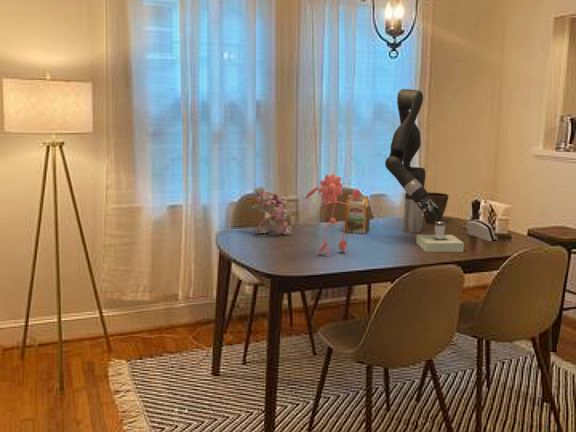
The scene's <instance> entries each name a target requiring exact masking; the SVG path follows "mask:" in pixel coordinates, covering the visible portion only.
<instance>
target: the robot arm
mask: <svg viewBox="0 0 576 432" xmlns="http://www.w3.org/2000/svg"><path fill="white" fill-rule="evenodd" d="M396 102H397V110H398V116H399V120H400V122H399V123H400V125H399V126H398V127H397V129H396V130H395V132H394V133H393V135H392V136H393V137H392V140H391V144H390V152H389V156H388V157H387V158H386V159H385V162H384V163H385V168H386V169H387V171H388V172H389V173H390V174H391V175H392V176H394V178H395V179H396V181H397V182H398V183H399V184H400V186H401V187H402V188H403V189H404V191H405V194H404V195H405V196H404V211H403V212H404V214H403V232H404V233H410V234H418V233H419V234H420V233H422V231H423V230H422V229H423V216H424V214H427V215H429V216H430V217H431V219H432V220H435V219H436V218H437V217H436V215H435V214H434V213H433V212H431V209H432V210H433V211H435V213H436V214H437V215H438V217H441V216H442V215H443V216H444V214H443V213H442V212H441V211H440V210H439V209H438V207H439V206H438V204H437V203H436V202H435V201H434V200H433V199H432V198H431V197H430V198H428V197H427V195H428V193H429V191H428V190H427V189H425V184H426V182H425V181H426V169H425V168H424V167H419V166H418V167H414V166H411V162H412V160H413V158H414V156H416V155H417V153H418V151H419V150H420V147H421V144H422V143H421V142H422V140H421V132H420V129H419V127H418V125H417V124H416V123H415V122H416V120H417V118H418V115H419V113H420V110H421V108H422V105H423V102H424V95H423V92H422V91H421V90H418V89H411V88H410V89H408V88H401V89H400V90H399V91H398V92H397V101H396ZM423 213H424V214H423Z"/></svg>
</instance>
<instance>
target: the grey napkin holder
mask: <svg viewBox="0 0 576 432" xmlns="http://www.w3.org/2000/svg"><path fill="white" fill-rule="evenodd" d="M466 228H467V235H468V234H470V235H469V236H472V235H473V237H475V236H476V237H475V238H478V237H479V238H478V239H481V238H482V239H481V240H484V239H485V240H484V241H487V242H493V240H494V241H497V242H498V241H499V239H498V237H497V236H496V234H495V232H494V229H493V226H492V225H491V224H490V223H488V222H487V221H484V220H482V219H472V220H470V221H468V222H466Z"/></svg>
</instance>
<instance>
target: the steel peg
mask: <svg viewBox="0 0 576 432" xmlns="http://www.w3.org/2000/svg"><path fill="white" fill-rule="evenodd" d="M445 228H446V221H443V220H441V221H435V224H434V234H433V235H434V240H444V235H445V232H446V231H445V230H446V229H445Z"/></svg>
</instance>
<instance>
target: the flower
mask: <svg viewBox="0 0 576 432" xmlns="http://www.w3.org/2000/svg"><path fill="white" fill-rule="evenodd" d="M265 190H266V189H265V187H263V186H259V187H258V186H255V188H254V189H253V193H254V194H255V197H254V202H255V203H261V204H254V205H253V206H252V208H251V209H256V208H259V210H258V212H263V213H262V216H261V219H260V222H259V223H258V226H257V227H256V229H255V230H254V232H253V233H256V234H261V233H267V232H268V233H269V232H270V230H269V229H268V228H270V227H273V228H274V227H276V226H277V223H281V222H282V225H283V226H282V225H280V224H278V231H277V233H278V234H282V233H283V234H284V235H285V234H286V235H285V236H288V235H290V233H291V234H292V235H293V234H294V232H291V231H293V230H292V229H293V226H291V225H289V226H288V221H286V220H287V219H288V217H290V215H292V214H293V213H292V212H291V211H290V209H289V207H288V206H285V205H287V203H288V198H287V196H284V194H283V193H280V194H279V195H278V194H277V193H271V194H270V193H269V192H268V191H265ZM262 201H263V202H262ZM271 209H272V210H273V212H271ZM270 217H271V218H270ZM284 219H285V220H284ZM266 221H268V222H269V224H268V225H267V226H265V227H262V225H264V223H265V222H266ZM268 233H267V234H268ZM287 234H288V235H287Z"/></svg>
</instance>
